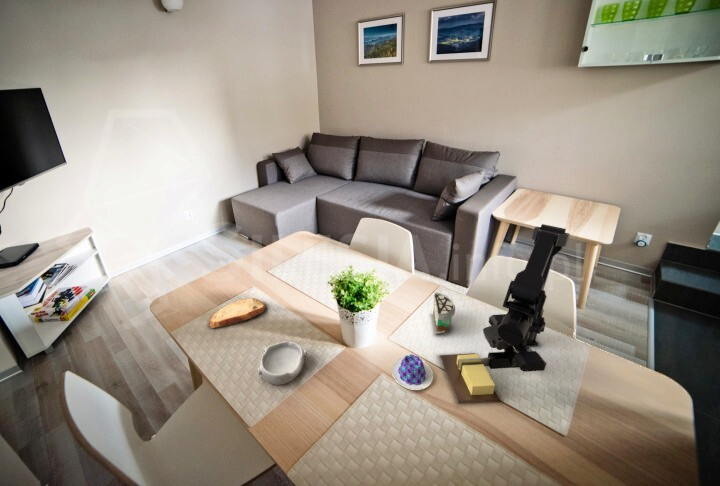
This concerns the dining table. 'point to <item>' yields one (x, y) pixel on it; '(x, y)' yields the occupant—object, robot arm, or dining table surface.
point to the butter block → (477, 379)
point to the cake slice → (442, 313)
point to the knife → (490, 361)
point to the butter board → (462, 382)
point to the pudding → (412, 372)
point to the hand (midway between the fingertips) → (509, 362)
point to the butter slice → (467, 357)
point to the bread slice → (237, 312)
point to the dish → (282, 362)
